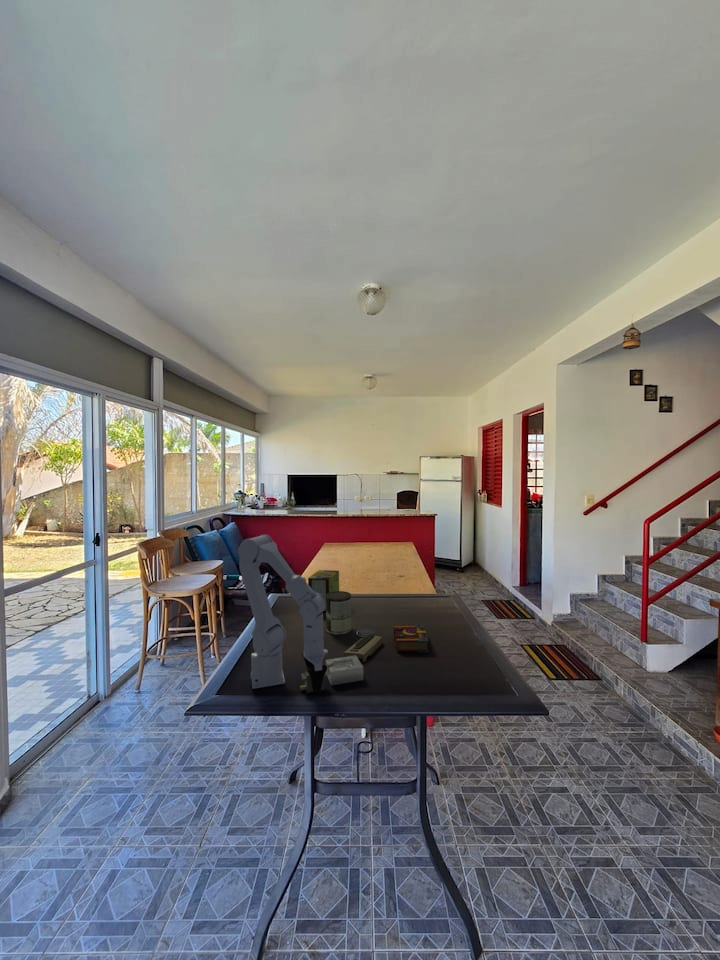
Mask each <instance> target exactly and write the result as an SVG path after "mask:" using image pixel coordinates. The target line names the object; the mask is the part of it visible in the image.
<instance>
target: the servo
mask: <svg viewBox="0 0 720 960" xmlns="http://www.w3.org/2000/svg"><path fill="white" fill-rule="evenodd" d="M300 676H301V679H302V682H304V684H302V685H299V687H300V691H306V694H308V693H314V692H316V691H313V688H312V683H311V677H310V675H309V673H308V671H307V669H306V670H304V672H303V673H301V674H300ZM325 678H328V675H327V673H325V675H324V677H323V682H322V687H321V690H320V691H321V692H322V691H324V690H325ZM320 691H319V692H320Z"/></svg>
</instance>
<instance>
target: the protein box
mask: <svg viewBox="0 0 720 960" xmlns="http://www.w3.org/2000/svg"><path fill="white" fill-rule="evenodd" d="M307 580H308V582H307V584H308V585H309V586H310V587H311V589H312V590H313V591H315V592H316V593H319V594H321V595H323V597H324V599H325V601H326V594H327V593H330V592H334V591H340V570H333V569H332V570H330V569H329V570H327V569H319V570H317V571H316V572H315V573H313V574H312V575H310V576H309V577H308V578H307ZM324 611H326V608H325V610H324Z"/></svg>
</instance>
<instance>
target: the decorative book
mask: <svg viewBox="0 0 720 960" xmlns="http://www.w3.org/2000/svg"><path fill="white" fill-rule="evenodd" d="M393 641H394V646H395V650H396V652H397V653H418V654H419V653H420V654H421V653H429V651H430V650H429V647H428V643H429V639H428V637H427V632H426V630H424V625H423V624H422V623H420V624H419V623H417V624H414V623H413V624H393Z"/></svg>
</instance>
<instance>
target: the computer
mask: <svg viewBox="0 0 720 960" xmlns="http://www.w3.org/2000/svg"><path fill="white" fill-rule="evenodd" d="M367 636H368V637H365V638H362V637H361V638H360V639H358V640H357V641H356V642H355V643H354V644H353V645H351V646H350V647H349V648H348V649H346V651H344V652H343V654H342V655H343V656H342V657H348V656H355V655H356V656H357V658H358V659H359V661H360V663H365V662H366V661H367V658H368V657H369V656H370V657H371V656H372V655H373V654H375V652H376V651H377V650H378V649H380V647H381V646H382V645H384V641H383V637H382V636H377V635H376V636H375V635H367Z"/></svg>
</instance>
